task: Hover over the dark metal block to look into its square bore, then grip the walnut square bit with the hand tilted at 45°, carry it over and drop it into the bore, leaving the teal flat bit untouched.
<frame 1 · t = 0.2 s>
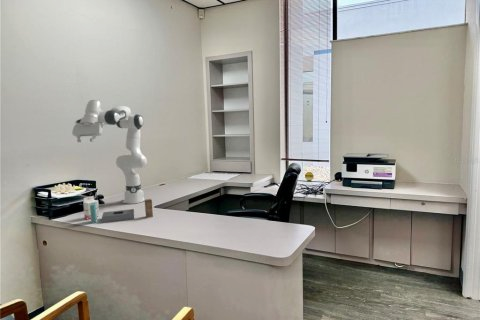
hand: (85, 141, 210), 54 cm above the table, tool tilted 30°, fingers open, 8 cm apart
walnut square bit: (149, 216, 227), on the table
ink cartridge box: (92, 218, 229), on the table
teal flat bit: (94, 221, 219), on the table
metal bore block: (118, 218, 225), on the table
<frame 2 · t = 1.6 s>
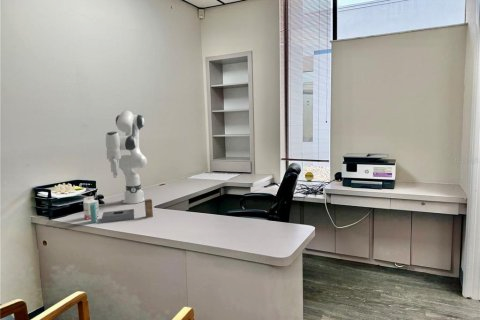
hand: (115, 176, 221), 29 cm above the table, tool pointing down, fingers open, 8 cm apart
nothing on the table moved.
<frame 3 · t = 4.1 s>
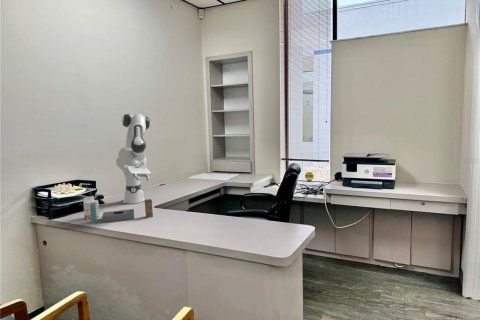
hand: (143, 180, 225), 26 cm above the table, tool tilted 50°, fingers open, 8 cm apart
nothing on the table moved.
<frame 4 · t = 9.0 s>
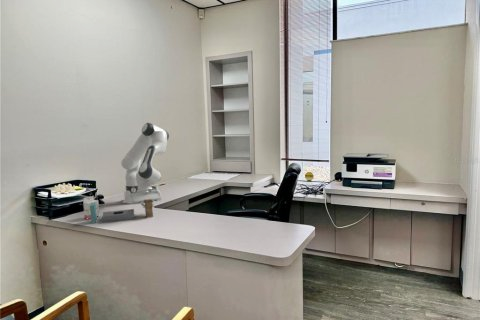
hand: (148, 207, 225), 7 cm above the table, tool tilted 45°, fingers closed on walnut square bit, 4 cm apart
walnut square bit: (149, 216, 227), on the table, touching gripper
everything else where it was.
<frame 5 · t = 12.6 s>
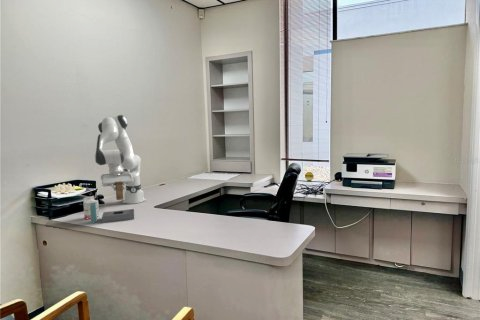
hand: (119, 189, 222), 20 cm above the table, tool tilted 45°, fingers closed on walnut square bit, 4 cm apart
walnut square bit: (119, 199, 223), point 13 cm above the table, touching gripper
everything else where it was.
when the fingers open (9 cm above the table, at t = 16.0 s): walnut square bit drops 2 cm, resting in metal bore block.
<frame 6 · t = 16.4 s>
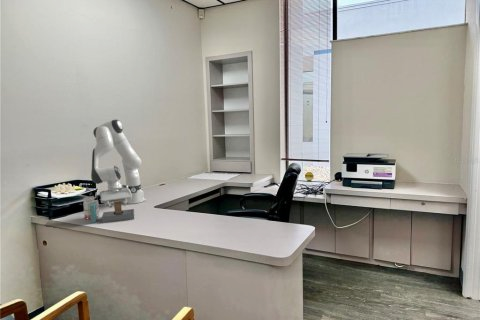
hand: (118, 206, 223), 9 cm above the table, tool tilted 45°, fingers open, 8 cm apart
walnut square bit: (118, 218, 225), resting in metal bore block
everything else where it was.
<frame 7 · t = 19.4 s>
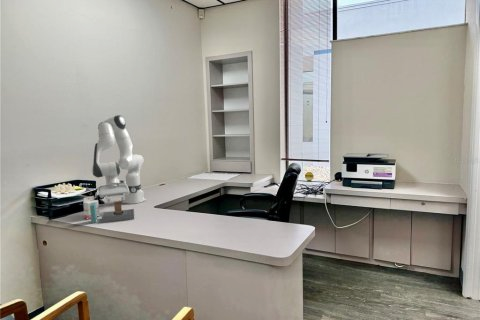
hand: (115, 200, 234), 10 cm above the table, tool tilted 45°, fingers open, 8 cm apart
nothing on the table moved.
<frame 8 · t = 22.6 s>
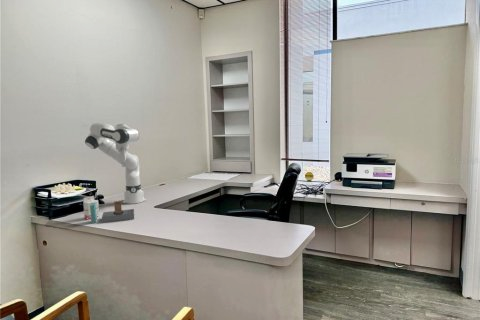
hand: (123, 165, 237), 34 cm above the table, tool pointing down, fingers open, 8 cm apart
nothing on the table moved.
at the end: walnut square bit 0.1 cm off-centre on the metal bore block, point 0.0 cm above the metal bore block's base; walnut square bit tilted 0°; the gripper is holding nothing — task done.
